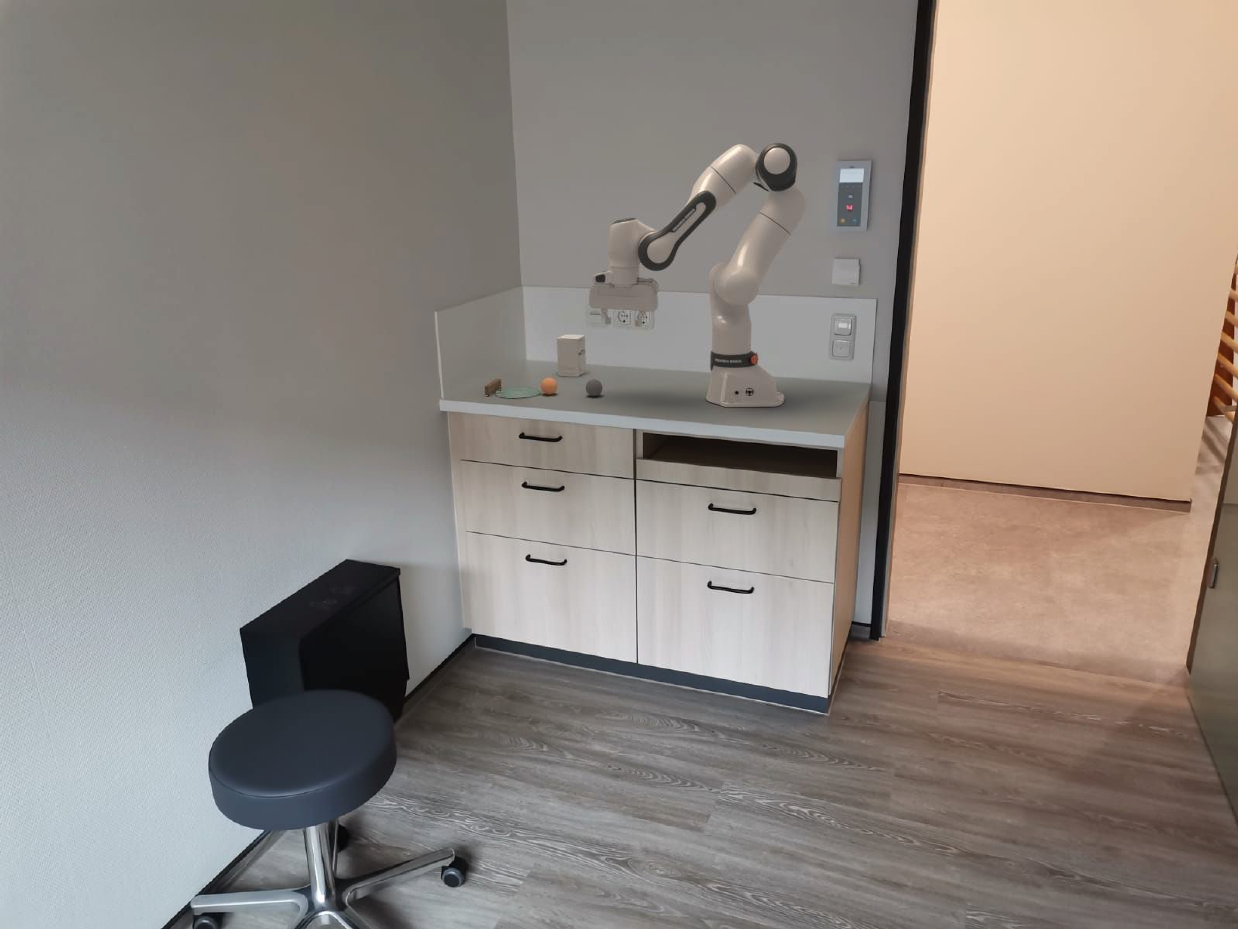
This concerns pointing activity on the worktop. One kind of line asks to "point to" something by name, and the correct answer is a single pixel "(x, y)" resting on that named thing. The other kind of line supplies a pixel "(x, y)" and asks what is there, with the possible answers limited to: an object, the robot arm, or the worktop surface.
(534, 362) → the worktop surface
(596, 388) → the dark gray ball
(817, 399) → the worktop surface
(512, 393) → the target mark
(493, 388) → the stopper bar
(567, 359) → the supplement box
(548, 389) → the object ball
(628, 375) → the worktop surface
